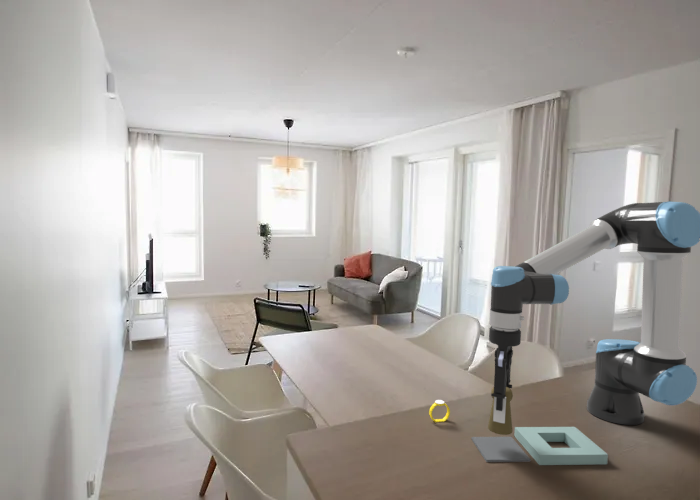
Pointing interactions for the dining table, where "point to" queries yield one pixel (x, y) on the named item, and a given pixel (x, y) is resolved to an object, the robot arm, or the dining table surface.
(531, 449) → the socket board
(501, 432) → the cork
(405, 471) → the dining table surface
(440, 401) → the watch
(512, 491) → the dining table surface
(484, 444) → the rubber mat
